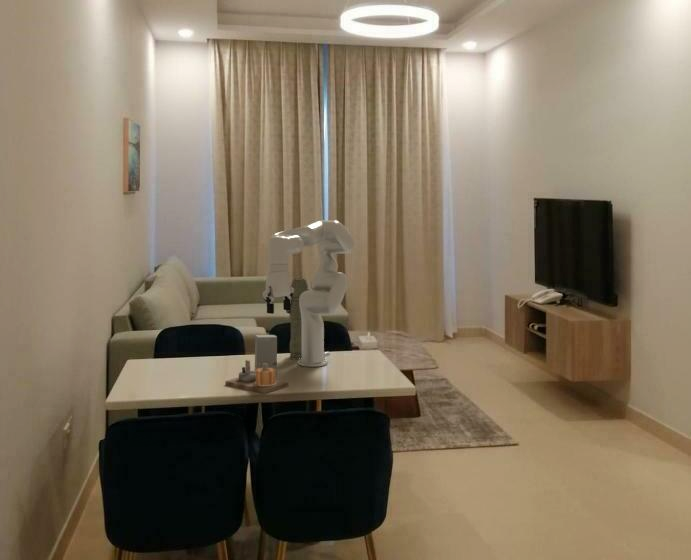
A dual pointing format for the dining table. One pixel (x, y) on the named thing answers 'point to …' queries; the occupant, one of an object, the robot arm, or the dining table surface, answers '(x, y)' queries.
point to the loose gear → (265, 376)
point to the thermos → (296, 318)
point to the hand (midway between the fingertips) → (278, 311)
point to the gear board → (256, 388)
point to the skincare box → (266, 351)
